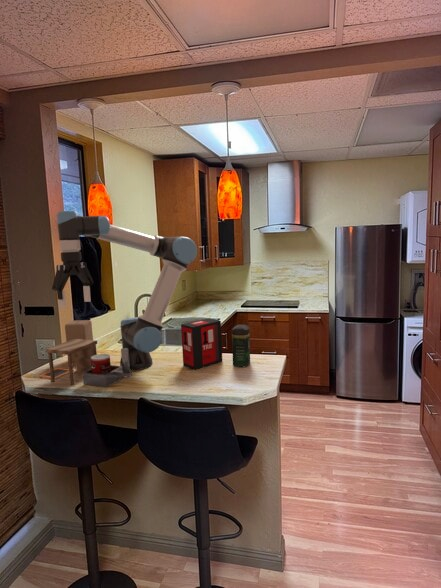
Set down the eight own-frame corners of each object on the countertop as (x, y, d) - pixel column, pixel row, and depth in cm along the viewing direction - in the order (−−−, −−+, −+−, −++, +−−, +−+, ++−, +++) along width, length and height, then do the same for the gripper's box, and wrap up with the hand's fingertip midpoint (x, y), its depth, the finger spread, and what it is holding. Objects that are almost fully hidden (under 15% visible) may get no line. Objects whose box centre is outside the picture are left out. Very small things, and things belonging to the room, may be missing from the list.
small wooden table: (49, 382, 172) (45, 348, 169) (77, 369, 187) (74, 338, 185) (72, 386, 166) (69, 351, 164) (99, 372, 182) (97, 340, 180)
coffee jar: (248, 368, 179) (247, 328, 176) (231, 367, 181) (229, 328, 178) (251, 361, 188) (250, 323, 185) (235, 361, 190) (233, 323, 187)
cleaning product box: (210, 357, 197) (208, 318, 194) (222, 361, 190) (220, 320, 187) (183, 366, 186) (180, 324, 183) (195, 370, 179) (192, 327, 176)
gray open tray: (83, 384, 167) (79, 349, 165) (102, 374, 178) (99, 342, 176) (122, 389, 159) (119, 353, 157) (139, 379, 170) (137, 345, 168)
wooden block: (95, 357, 205) (92, 319, 202) (87, 363, 195) (83, 324, 192) (76, 357, 206) (73, 320, 203) (67, 364, 196) (63, 324, 193)
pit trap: (74, 371, 185) (73, 369, 185) (55, 379, 175) (55, 378, 175) (57, 369, 189) (57, 367, 188) (38, 377, 179) (38, 375, 179)
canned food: (96, 378, 175) (94, 354, 173) (114, 377, 174) (112, 353, 173) (90, 384, 167) (87, 359, 165) (108, 384, 167) (106, 359, 165)
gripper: (85, 249, 169) (90, 299, 172) (37, 253, 146) (44, 310, 150) (99, 249, 166) (103, 299, 169) (53, 253, 143) (59, 310, 147)
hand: (75, 304), depth 159 cm, fingers open, 13 cm apart
